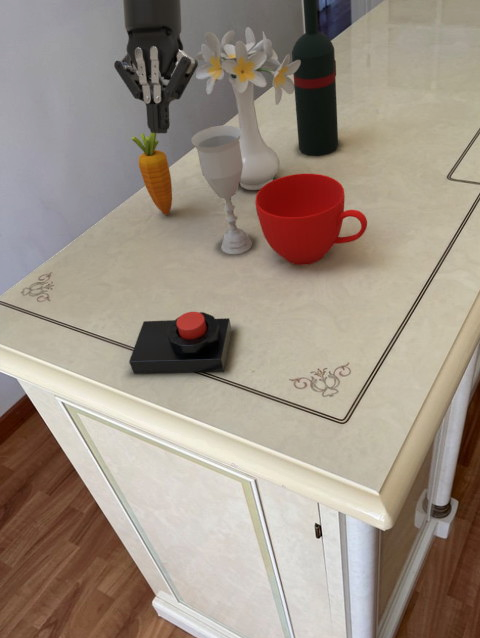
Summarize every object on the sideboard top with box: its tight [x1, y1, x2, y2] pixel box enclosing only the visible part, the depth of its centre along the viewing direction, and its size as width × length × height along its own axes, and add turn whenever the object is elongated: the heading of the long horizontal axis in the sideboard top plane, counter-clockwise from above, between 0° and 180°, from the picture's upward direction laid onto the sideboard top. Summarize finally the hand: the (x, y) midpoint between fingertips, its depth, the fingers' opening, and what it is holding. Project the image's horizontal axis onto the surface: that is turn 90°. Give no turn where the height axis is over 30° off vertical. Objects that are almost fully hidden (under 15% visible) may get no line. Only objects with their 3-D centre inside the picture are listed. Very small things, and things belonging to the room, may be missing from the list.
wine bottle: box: [291, 0, 339, 157], centre depth 108 cm, size 8×10×30 cm
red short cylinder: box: [176, 311, 207, 340], centre depth 75 cm, size 4×4×2 cm
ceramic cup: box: [254, 173, 368, 266], centre depth 87 cm, size 13×17×10 cm
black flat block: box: [128, 311, 233, 374], centre depth 77 cm, size 12×8×4 cm, turn 86°
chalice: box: [191, 124, 253, 255], centre depth 89 cm, size 7×7×18 cm
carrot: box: [131, 132, 173, 216], centre depth 100 cm, size 5×5×15 cm
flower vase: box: [195, 26, 301, 191], centre depth 101 cm, size 13×18×25 cm
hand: (159, 133), depth 84 cm, fingers closed
